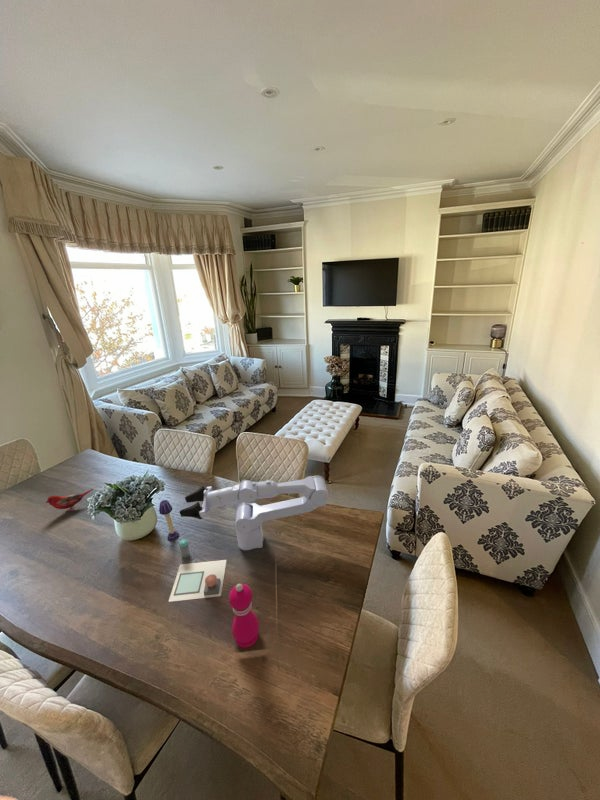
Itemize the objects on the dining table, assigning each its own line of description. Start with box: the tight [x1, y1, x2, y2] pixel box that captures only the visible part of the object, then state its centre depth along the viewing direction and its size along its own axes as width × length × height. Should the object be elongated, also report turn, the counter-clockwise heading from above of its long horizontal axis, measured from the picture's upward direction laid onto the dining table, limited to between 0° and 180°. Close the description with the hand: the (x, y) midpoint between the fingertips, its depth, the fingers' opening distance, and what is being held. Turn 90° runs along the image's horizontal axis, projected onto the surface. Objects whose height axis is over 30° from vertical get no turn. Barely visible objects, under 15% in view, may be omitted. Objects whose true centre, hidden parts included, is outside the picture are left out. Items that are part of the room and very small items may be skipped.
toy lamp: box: [158, 499, 180, 541], centre depth 124 cm, size 5×5×17 cm
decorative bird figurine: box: [45, 488, 94, 513], centre depth 145 cm, size 3×18×10 cm, turn 131°
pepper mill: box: [228, 583, 260, 648], centre depth 86 cm, size 7×7×20 cm
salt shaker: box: [178, 538, 191, 559], centre depth 116 cm, size 3×3×7 cm
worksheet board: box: [168, 559, 227, 603], centre depth 107 cm, size 16×14×2 cm
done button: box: [205, 574, 217, 587], centre depth 103 cm, size 4×4×3 cm
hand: (183, 506), depth 113 cm, fingers open, 7 cm apart
